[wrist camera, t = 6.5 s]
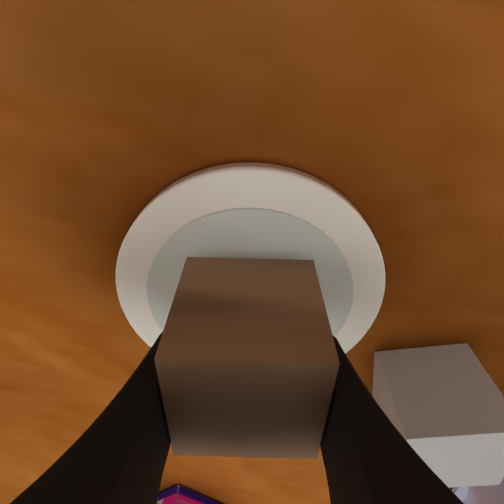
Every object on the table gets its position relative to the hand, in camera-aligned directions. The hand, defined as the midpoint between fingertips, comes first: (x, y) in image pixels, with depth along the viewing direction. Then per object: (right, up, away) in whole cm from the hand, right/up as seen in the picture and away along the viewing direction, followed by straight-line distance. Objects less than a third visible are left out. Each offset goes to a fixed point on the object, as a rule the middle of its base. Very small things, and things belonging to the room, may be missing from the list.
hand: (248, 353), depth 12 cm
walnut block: (0, +1, +2) cm, 2 cm away
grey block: (+9, -3, +7) cm, 12 cm away
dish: (0, +2, +3) cm, 4 cm away
